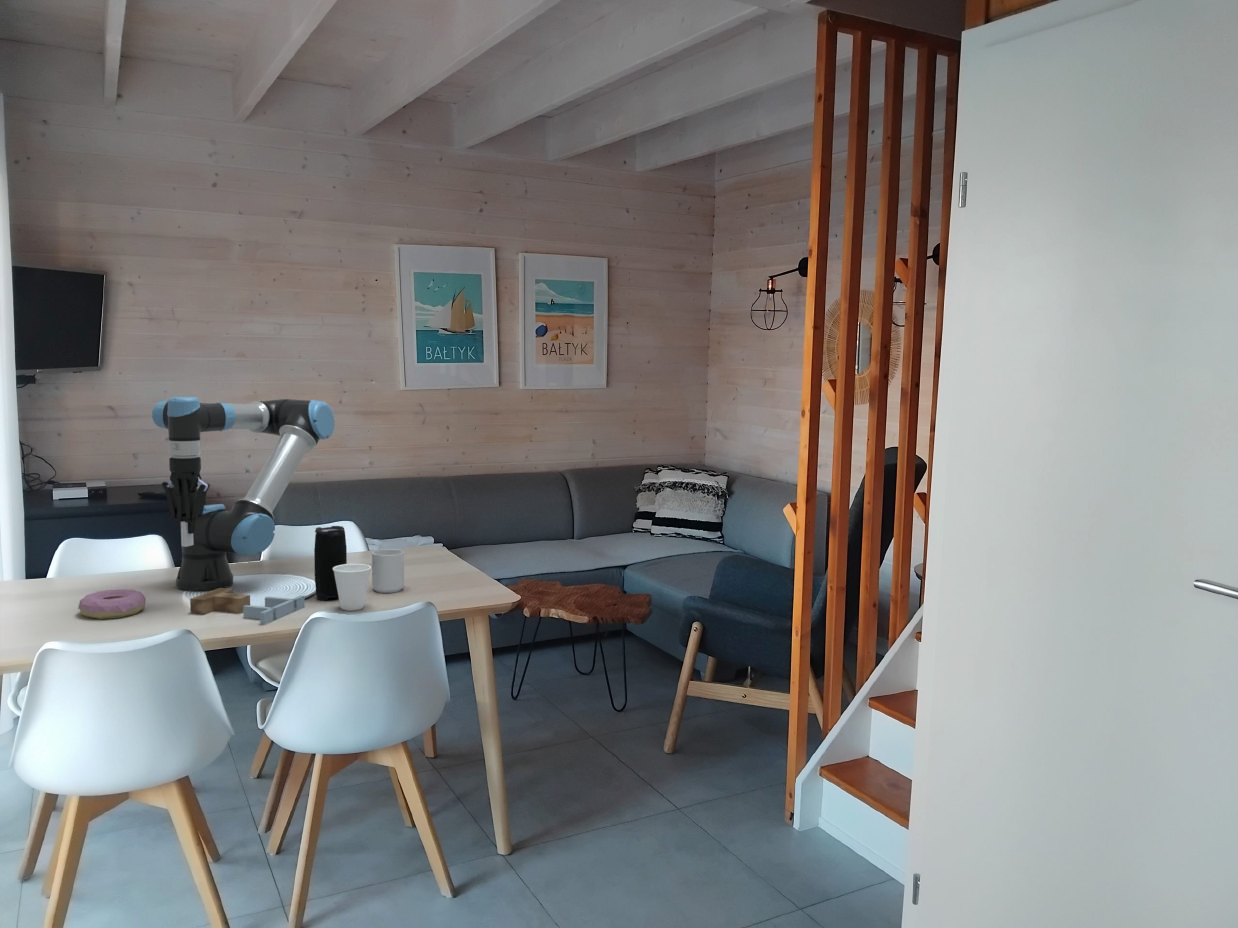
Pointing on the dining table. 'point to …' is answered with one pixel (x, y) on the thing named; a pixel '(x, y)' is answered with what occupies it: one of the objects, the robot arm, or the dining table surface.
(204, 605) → the t block
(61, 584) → the dining table surface
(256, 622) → the dining table surface
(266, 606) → the slot jig
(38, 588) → the dining table surface
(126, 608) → the donut
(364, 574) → the cup
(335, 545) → the portable speaker
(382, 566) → the mug
